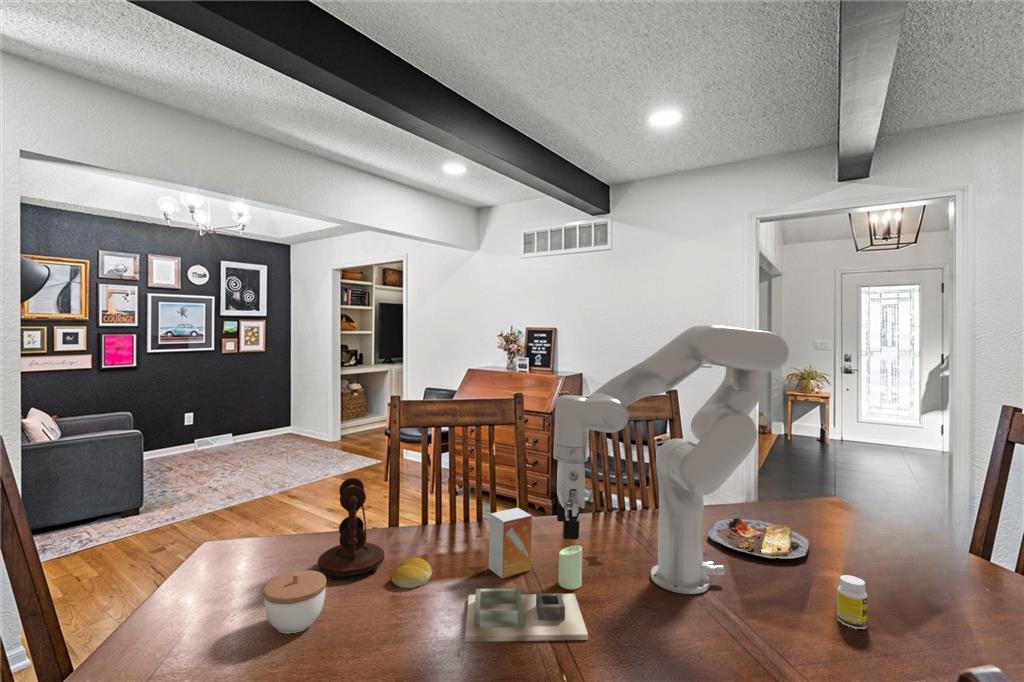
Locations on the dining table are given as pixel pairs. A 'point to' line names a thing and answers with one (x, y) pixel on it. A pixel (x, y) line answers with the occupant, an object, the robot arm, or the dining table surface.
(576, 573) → the candle
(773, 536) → the food plate
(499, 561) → the small box
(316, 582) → the lidded jar
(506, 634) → the holder board
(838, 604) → the supplement bottle
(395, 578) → the bread roll
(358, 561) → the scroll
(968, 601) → the dining table surface
